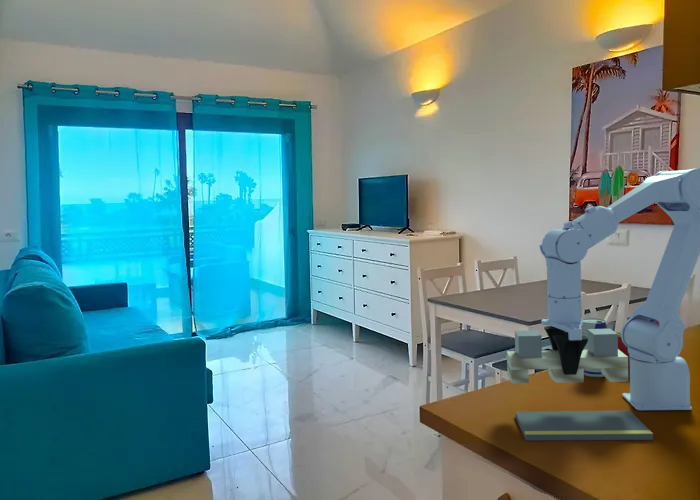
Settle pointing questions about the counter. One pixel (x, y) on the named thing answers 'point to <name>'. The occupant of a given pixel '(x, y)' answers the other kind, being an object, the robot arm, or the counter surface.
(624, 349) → the strawberry
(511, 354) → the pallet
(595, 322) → the energy drink
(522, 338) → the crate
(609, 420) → the dock
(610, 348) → the block
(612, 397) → the counter surface
